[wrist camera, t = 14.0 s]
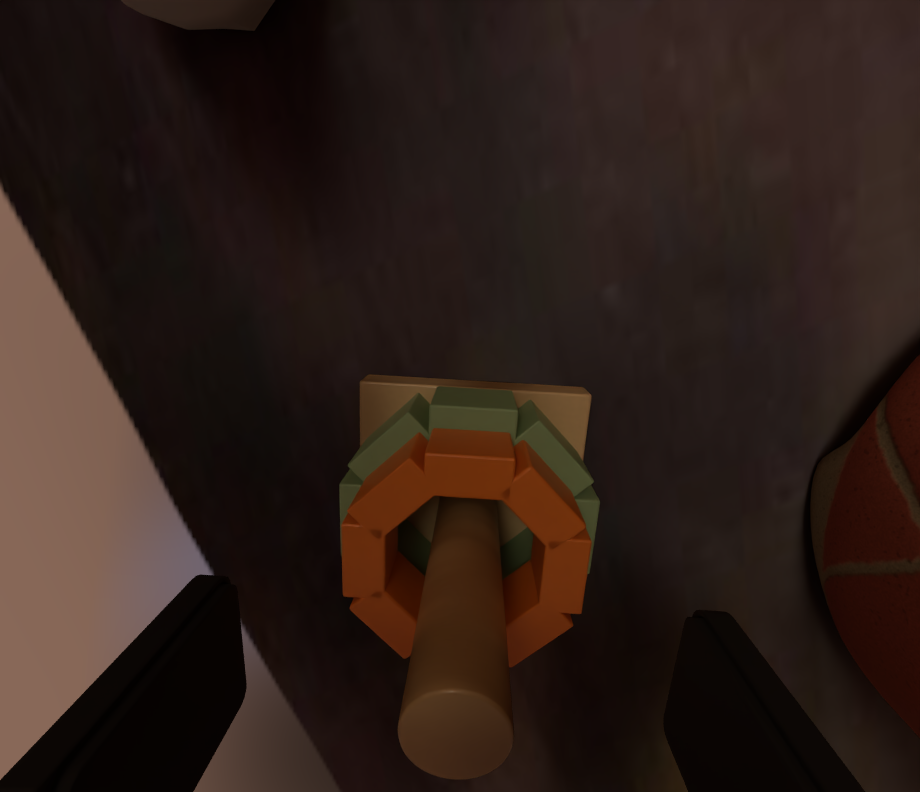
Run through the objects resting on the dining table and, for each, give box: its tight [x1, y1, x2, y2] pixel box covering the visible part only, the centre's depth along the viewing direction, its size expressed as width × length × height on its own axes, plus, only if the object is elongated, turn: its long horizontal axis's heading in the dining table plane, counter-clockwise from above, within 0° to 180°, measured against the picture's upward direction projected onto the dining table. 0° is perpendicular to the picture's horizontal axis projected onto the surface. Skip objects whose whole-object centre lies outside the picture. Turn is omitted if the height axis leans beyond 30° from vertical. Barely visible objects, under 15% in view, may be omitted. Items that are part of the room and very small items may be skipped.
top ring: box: [341, 428, 592, 668], centre depth 13 cm, size 7×7×2 cm
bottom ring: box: [339, 386, 600, 580], centre depth 15 cm, size 8×8×2 cm
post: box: [360, 374, 591, 780], centre depth 12 cm, size 8×8×10 cm
